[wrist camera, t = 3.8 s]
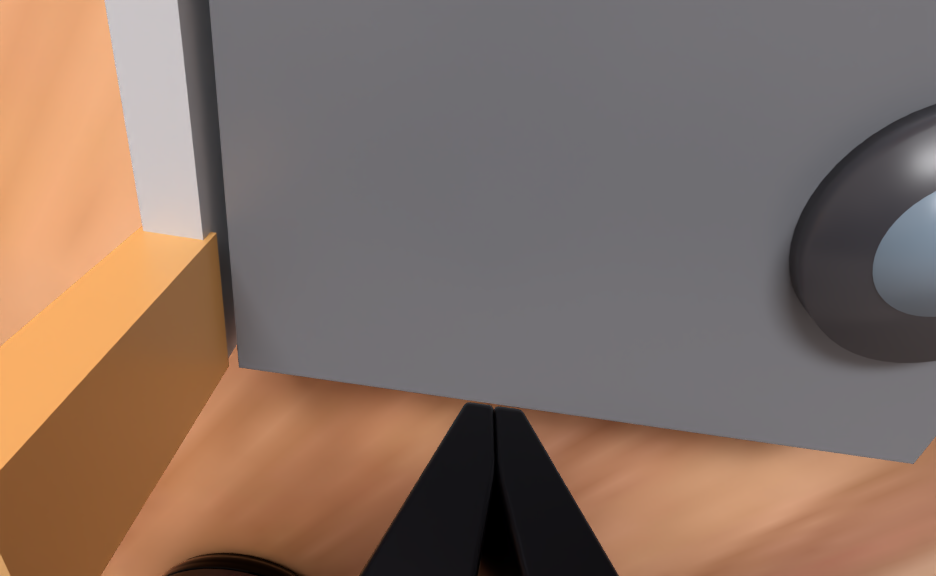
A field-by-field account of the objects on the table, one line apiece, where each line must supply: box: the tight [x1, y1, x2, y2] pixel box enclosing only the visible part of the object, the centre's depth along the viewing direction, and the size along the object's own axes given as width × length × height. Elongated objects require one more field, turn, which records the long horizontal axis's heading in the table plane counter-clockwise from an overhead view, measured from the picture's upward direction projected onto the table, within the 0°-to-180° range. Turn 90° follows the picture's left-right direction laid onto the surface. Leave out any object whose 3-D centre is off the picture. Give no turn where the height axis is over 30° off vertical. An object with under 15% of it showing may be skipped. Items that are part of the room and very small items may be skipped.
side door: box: [0, 0, 237, 576], centre depth 8 cm, size 1×11×9 cm, turn 172°
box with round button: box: [209, 0, 936, 464], centre depth 11 cm, size 14×10×4 cm
